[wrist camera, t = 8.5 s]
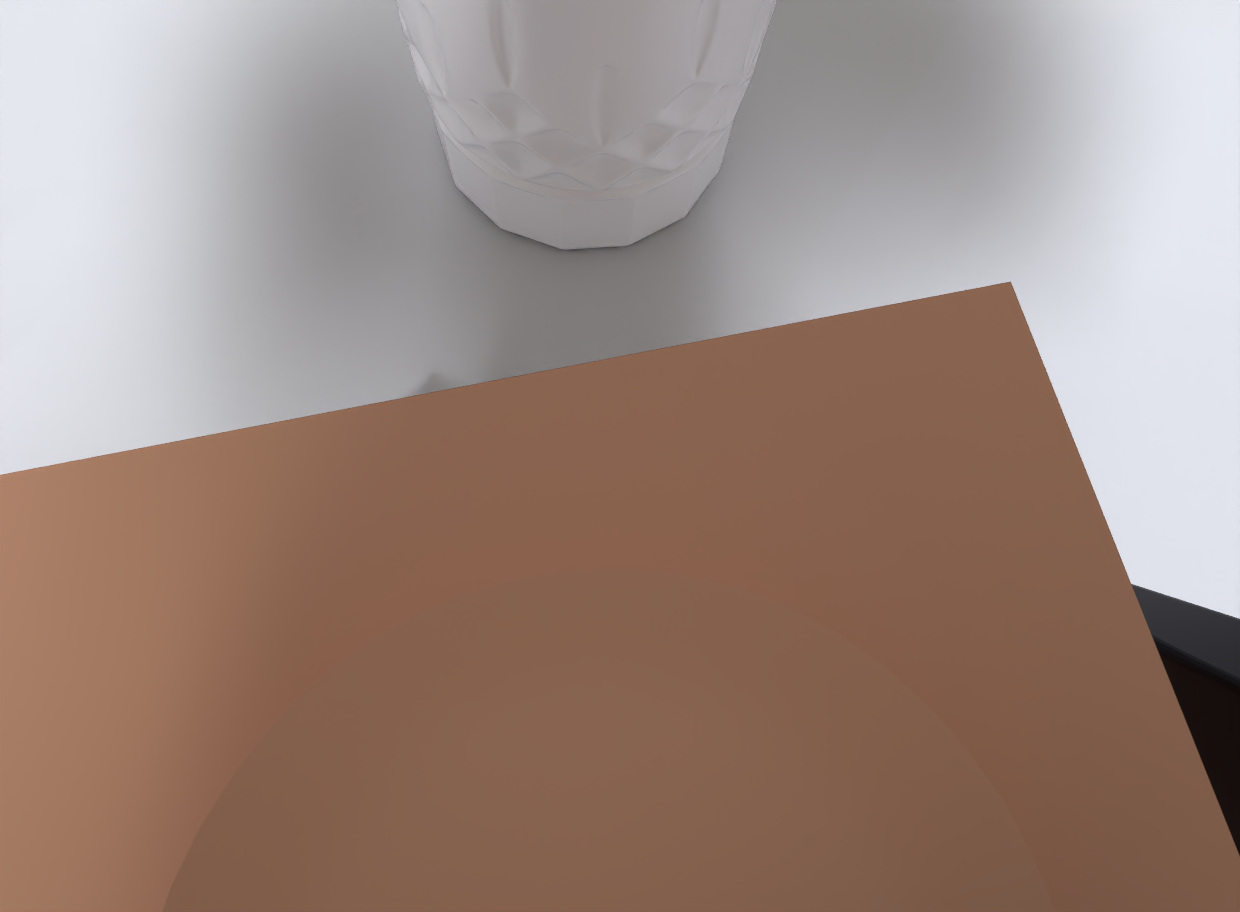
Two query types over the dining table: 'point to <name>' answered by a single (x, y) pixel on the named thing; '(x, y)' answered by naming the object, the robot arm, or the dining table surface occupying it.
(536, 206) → the white cup
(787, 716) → the column
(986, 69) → the dining table surface
